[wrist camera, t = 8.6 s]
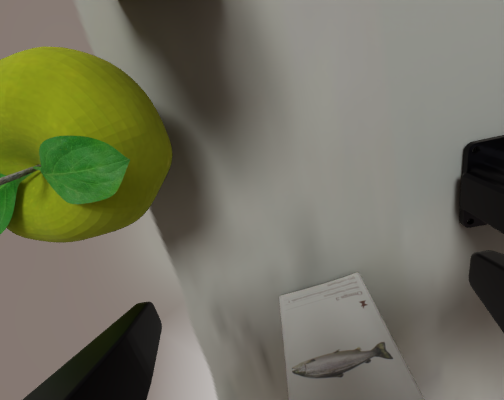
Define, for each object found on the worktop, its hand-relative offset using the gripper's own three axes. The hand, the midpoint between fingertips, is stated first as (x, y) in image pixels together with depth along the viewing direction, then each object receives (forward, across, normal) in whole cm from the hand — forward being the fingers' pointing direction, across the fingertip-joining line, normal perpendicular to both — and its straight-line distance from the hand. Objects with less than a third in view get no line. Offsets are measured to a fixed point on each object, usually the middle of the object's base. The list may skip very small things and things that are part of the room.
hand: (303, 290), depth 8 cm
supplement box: (+13, -2, +14) cm, 20 cm away
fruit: (+13, +10, -4) cm, 17 cm away
